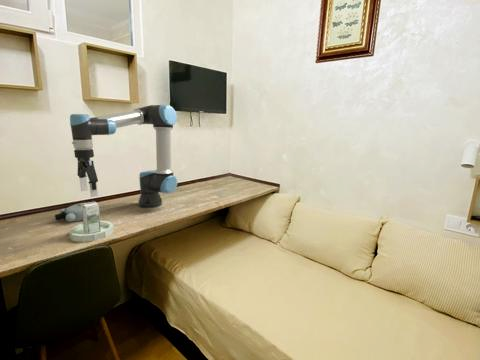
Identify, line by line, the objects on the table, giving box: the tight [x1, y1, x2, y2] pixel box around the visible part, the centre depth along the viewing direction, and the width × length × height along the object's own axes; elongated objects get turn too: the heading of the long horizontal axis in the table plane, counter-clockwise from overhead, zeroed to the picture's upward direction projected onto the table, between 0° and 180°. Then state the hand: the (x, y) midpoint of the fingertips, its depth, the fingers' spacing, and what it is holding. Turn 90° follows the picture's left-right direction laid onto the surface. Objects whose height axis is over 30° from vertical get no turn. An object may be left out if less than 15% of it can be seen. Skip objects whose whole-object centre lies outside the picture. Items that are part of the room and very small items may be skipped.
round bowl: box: [68, 220, 115, 243], centre depth 123 cm, size 18×18×3 cm
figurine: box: [54, 202, 85, 222], centre depth 142 cm, size 17×8×20 cm
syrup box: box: [81, 201, 101, 234], centre depth 122 cm, size 6×6×14 cm
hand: (89, 193), depth 120 cm, fingers open, 13 cm apart
